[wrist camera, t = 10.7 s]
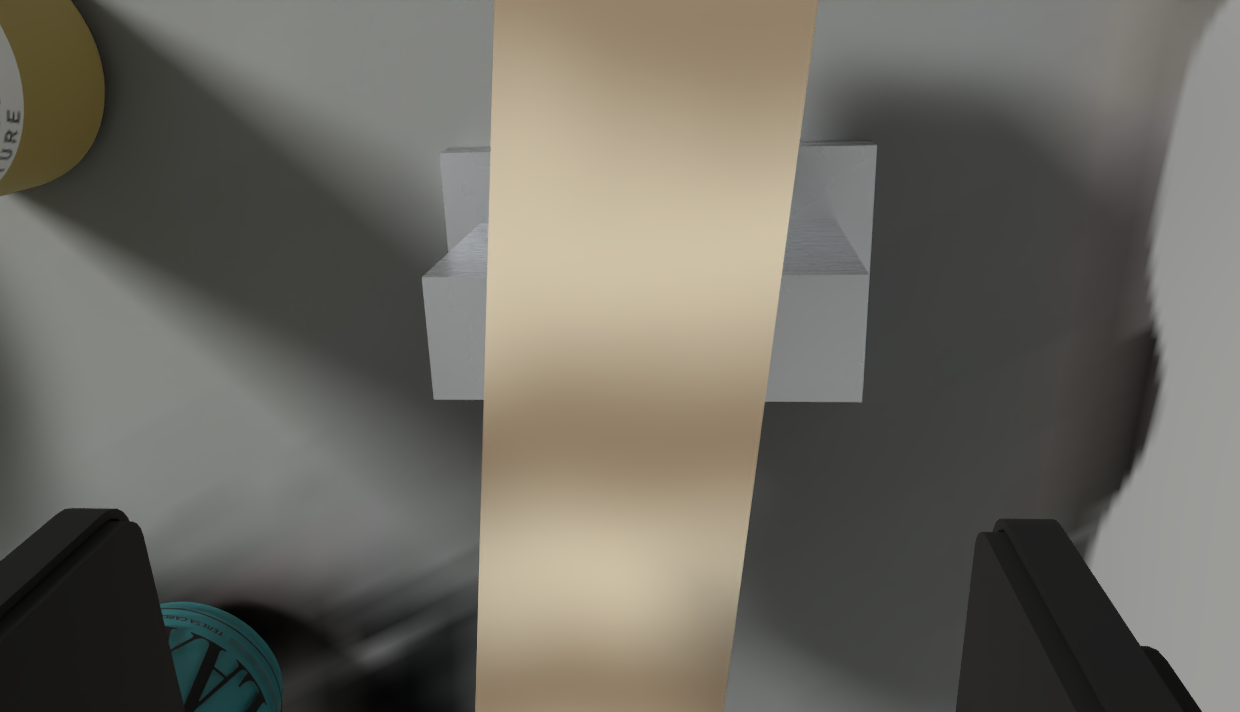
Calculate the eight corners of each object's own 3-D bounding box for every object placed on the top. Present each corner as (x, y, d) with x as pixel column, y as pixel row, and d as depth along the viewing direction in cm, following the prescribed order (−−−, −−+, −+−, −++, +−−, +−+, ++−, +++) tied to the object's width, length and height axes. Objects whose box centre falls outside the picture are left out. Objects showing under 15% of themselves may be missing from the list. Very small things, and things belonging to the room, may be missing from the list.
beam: (550, -112, 19) (498, -151, 15) (804, -94, 19) (835, -128, 14) (516, 650, 25) (473, 795, 21) (708, 671, 25) (708, 824, 20)
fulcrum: (448, 148, 28) (369, 190, 22) (871, 140, 27) (923, 182, 21) (467, 374, 31) (401, 475, 24) (858, 376, 29) (900, 481, 23)
